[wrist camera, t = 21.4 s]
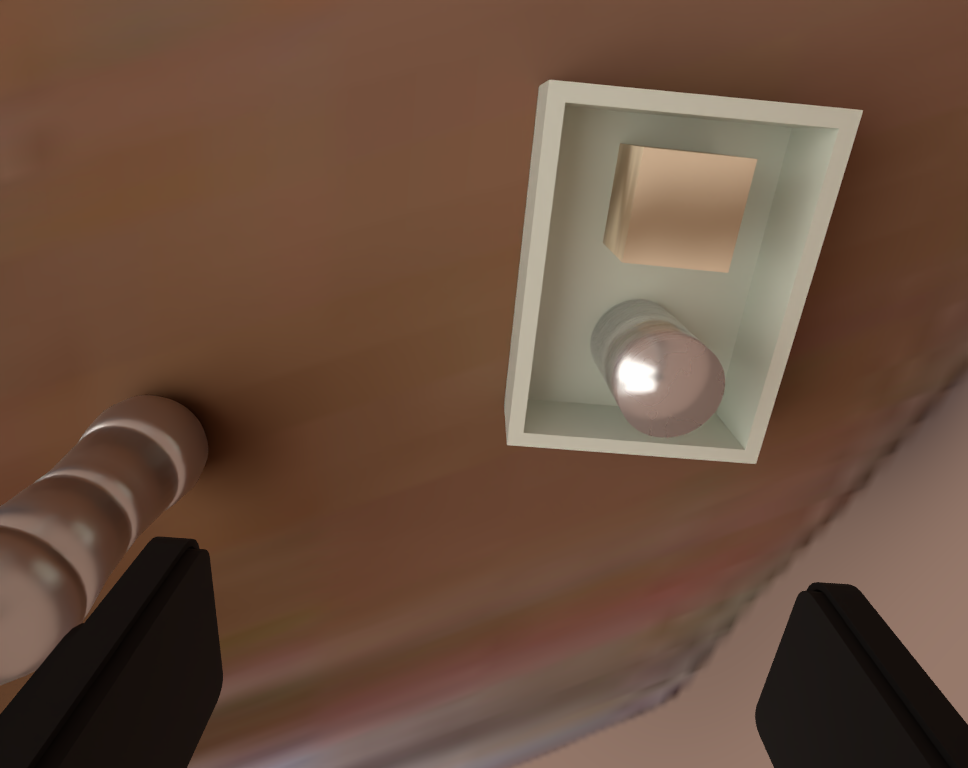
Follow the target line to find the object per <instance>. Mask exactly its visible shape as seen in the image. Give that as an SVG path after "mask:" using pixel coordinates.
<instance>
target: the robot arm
mask: <svg viewBox="0 0 968 768" xmlns="http://www.w3.org/2000/svg"><path fill="white" fill-rule="evenodd" d="M222 682H223V670H222V662H221V653H220V644H219V635H218V626H217V617H216V609H215V600H214V591H213V582H212V573H211V564H210V557H209V553H208V551H207V550H205V549H199V545H198V543H197V541H196V540H194V539H186V538H172V537H155V538H153V539H152V540H151V541H150V542H149V543H148V544H147V545H146V546H145V548H144V549H143V550H142V551H141V553H140V554H139V555H138V556H137V558H136V559H135V560H134V561H133V563H132V564H131V565H130V566H129V568H128V569H127V570H126V572H125V573H124V574H123V575H122V577H121V578H120V579H119V580H118V582H117V583H116V584H115V585H114V587H113V588H112V589H111V590H110V592H109V593H108V594H107V595H106V597H105V598H104V599H103V600H102V602H101V603H100V604H99V605H98V607H97V608H96V609H95V610H94V612H93V613H92V614H91V615H90V617H89V618H88V619H87V620H86V622H85V623H81V624H79V625H77V626H75V627H74V628H72V629H71V630H70V631H69V632H68V633H67V634H66V635H65V636H64V637H63V638H62V640H61V641H60V642H59V643H58V644H57V646H56V647H55V648H54V649H53V651H52V652H51V653H50V654H49V655H48V657H47V658H46V659H45V660H44V662H43V663H42V664H41V665H40V667H39V668H38V669H37V670H36V671H35V673H34V674H33V675H32V676H31V678H30V679H29V680H28V681H27V682H26V684H25V685H24V686H23V687H22V689H21V690H20V691H19V692H18V693H17V695H16V696H15V697H14V698H13V700H12V701H11V702H10V703H9V705H8V706H7V707H6V708H5V709H4V711H3V712H2V713H1V714H0V768H187V766H188V764H189V762H190V760H191V757H192V755H193V753H194V751H195V749H196V747H197V744H198V742H199V740H200V738H201V736H202V733H203V731H204V729H205V727H206V725H207V723H208V720H209V718H210V716H211V714H212V712H213V710H214V707H215V705H216V703H217V701H218V698H219V695H220V692H221V688H222ZM755 719H756V725H757V730H758V732H759V735H760V737H761V739H762V742H763V744H764V746H765V748H766V750H767V753H768V755H769V757H770V759H771V762H772V764H773V766H774V768H968V725H967V723H966V722H965V721H964V720H963V718H962V717H961V716H960V715H959V714H958V712H957V711H956V710H955V709H954V707H953V706H952V705H951V703H950V702H949V701H948V700H947V698H946V697H945V696H944V695H943V694H942V692H941V691H940V690H939V688H938V687H937V686H936V685H935V683H934V682H933V681H932V680H931V679H930V677H929V676H928V675H927V674H926V672H925V671H924V670H923V669H922V667H921V666H920V665H919V664H918V662H917V661H916V660H915V659H914V657H913V656H912V655H911V654H910V652H909V651H908V650H907V649H906V647H905V646H904V645H903V644H902V642H901V641H900V640H899V639H898V637H897V636H896V635H895V634H894V632H893V631H892V630H891V629H890V627H889V626H888V625H887V624H886V622H885V621H884V620H883V619H882V617H881V616H880V615H879V614H878V612H877V611H876V610H875V609H874V608H873V606H872V605H871V604H870V603H869V601H868V600H867V599H866V598H865V596H864V595H863V594H862V593H861V591H860V590H858V589H857V588H856V587H855V586H852V585H849V584H835V583H834V584H833V583H819V582H817V583H812V584H811V585H810V586H809V587H808V589H807V591H802V592H800V593H799V595H798V597H797V599H796V601H795V604H794V607H793V610H792V612H791V615H790V618H789V620H788V623H787V626H786V628H785V631H784V634H783V636H782V639H781V642H780V644H779V647H778V650H777V653H776V655H775V658H774V661H773V663H772V666H771V669H770V672H769V674H768V677H767V679H766V683H765V685H764V688H763V690H762V693H761V696H760V698H759V701H758V704H757V707H756V712H755Z"/></svg>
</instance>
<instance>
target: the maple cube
mask: <svg viewBox="0 0 968 768" xmlns="http://www.w3.org/2000/svg"><path fill="white" fill-rule="evenodd" d="M756 163H757V159H753V158H746V157H738V156H731V155H724V154H716V153H706V152H697V151H687V150H678V149H668V148H659V147H649V146H640V145H630V144H621V143H620V146H619V152H618V158H617V164H616V169H615V175H614V181H613V187H612V193H611V198H610V204H609V210H608V216H607V222H606V227H605V233H604V239H603V244H604V245H605V246H606V247H607V248H608V249H609V250H610V251H611V252H612V253H613V254H614V255H615V256H616V257H617V258H618V259H619V260H620V261H621V262H622V263H632V264H642V265H652V266H663V267H673V268H683V269H693V270H704V271H714V272H724V273H728V272H729V268H730V264H731V260H732V256H733V252H734V249H735V245H736V241H737V237H738V233H739V229H740V225H741V221H742V218H743V214H744V210H745V206H746V202H747V198H748V194H749V190H750V186H751V183H752V179H753V175H754V171H755V167H756Z"/></svg>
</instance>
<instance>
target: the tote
mask: <svg viewBox="0 0 968 768" xmlns="http://www.w3.org/2000/svg"><path fill="white" fill-rule="evenodd" d="M862 113H863V110H856V109H846V108H835V107H825V106H815V105H804V104H794V103H784V102H773V101H763V100H753V99H743V98H732V97H722V96H712V95H701V94H691V93H681V92H670V91H660V90H650V89H639V88H629V87H619V86H608V85H598V84H588V83H577V82H567V81H557V80H548V81H546V82H545V83H543V84H542V85H540V86H539V93H538V102H537V111H536V120H535V129H534V138H533V147H532V156H531V166H530V175H529V184H528V193H527V202H526V211H525V220H524V229H523V238H522V247H521V256H520V265H519V275H518V284H517V293H516V302H515V311H514V320H513V329H512V338H511V347H510V356H509V365H508V375H507V384H506V393H505V402H504V410H505V424H506V438H507V445H514V446H527V447H540V448H553V449H567V450H580V451H593V452H606V453H619V454H632V455H646V456H659V457H672V458H685V459H698V460H711V461H725V462H738V463H751V464H756V462H757V459H758V456H759V452H760V449H761V446H762V442H763V439H764V436H765V433H766V429H767V426H768V423H769V419H770V416H771V413H772V409H773V406H774V403H775V400H776V396H777V393H778V390H779V386H780V383H781V380H782V376H783V373H784V370H785V367H786V363H787V360H788V357H789V353H790V350H791V347H792V344H793V340H794V337H795V334H796V330H797V327H798V324H799V320H800V317H801V314H802V311H803V307H804V304H805V301H806V297H807V294H808V291H809V287H810V284H811V281H812V278H813V274H814V271H815V268H816V264H817V261H818V258H819V254H820V251H821V248H822V245H823V241H824V238H825V235H826V231H827V228H828V225H829V222H830V218H831V215H832V212H833V208H834V205H835V202H836V198H837V195H838V192H839V189H840V185H841V182H842V179H843V175H844V172H845V169H846V165H847V162H848V159H849V156H850V152H851V149H852V146H853V142H854V139H855V136H856V133H857V129H858V126H859V123H860V119H861V116H862ZM620 143H621V144H630V145H640V146H649V147H659V148H668V149H678V150H687V151H697V152H706V153H716V154H724V155H731V156H738V157H746V158H753V159H757V163H756V167H755V171H754V175H753V179H752V183H751V186H750V190H749V194H748V198H747V202H746V206H745V210H744V214H743V218H742V221H741V225H740V229H739V233H738V237H737V241H736V245H735V249H734V252H733V256H732V260H731V264H730V268H729V272H728V273H724V272H714V271H704V270H693V269H683V268H673V267H663V266H652V265H642V264H632V263H622V262H621V261H620V260H619V259H618V258H617V257H616V256H615V255H614V254H613V253H612V252H611V251H610V250H609V249H608V248H607V247H606V246H605V245H604V244H603V239H604V233H605V227H606V222H607V216H608V210H609V204H610V198H611V193H612V187H613V181H614V175H615V169H616V164H617V158H618V152H619V146H620ZM633 299H643V300H649V301H652V302H655V303H657V304H659V305H661V306H662V307H663V308H665V309H666V310H667V311H668V312H669V313H670V314H671V315H672V316H673V317H675V318H676V319H677V320H678V321H679V322H680V323H681V324H682V325H683V326H684V327H686V328H687V329H688V330H689V331H690V332H691V333H692V334H693V335H694V336H695V337H697V338H698V339H699V340H700V341H701V342H702V343H703V344H704V345H705V346H706V347H707V348H709V349H710V350H711V351H712V352H713V353H714V354H715V355H716V357H717V358H718V359H719V361H720V363H721V365H722V367H723V370H724V375H725V390H724V394H723V398H722V400H721V403H720V405H719V406H718V408H717V410H716V411H715V413H714V414H713V415H712V416H711V417H710V418H709V419H708V420H707V421H706V422H705V423H704V424H703V425H701V426H700V427H698V428H697V429H695V430H693V431H691V432H689V433H687V434H684V435H681V436H677V437H670V438H661V437H654V436H649V435H647V434H644V433H642V432H640V431H638V430H637V429H635V428H634V427H633V426H632V425H631V424H630V423H629V422H628V421H627V420H626V419H625V417H624V415H623V413H622V412H621V410H620V408H619V406H618V404H617V402H616V401H615V399H614V397H613V395H612V393H611V391H610V390H609V388H608V386H607V384H606V382H605V380H604V379H603V377H602V375H601V373H600V371H599V369H598V368H597V366H596V364H595V362H594V360H593V358H592V354H591V349H590V341H591V335H592V332H593V329H594V327H595V325H596V323H597V322H598V320H599V319H600V317H601V316H602V315H603V314H604V313H605V312H606V311H607V310H609V309H610V308H611V307H613V306H615V305H617V304H619V303H621V302H624V301H628V300H633Z"/></svg>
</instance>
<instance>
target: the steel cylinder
mask: <svg viewBox="0 0 968 768" xmlns="http://www.w3.org/2000/svg"><path fill="white" fill-rule="evenodd" d="M590 349H591V354H592V358H593V360H594V362H595V364H596V366H597V368H598V369H599V371H600V373H601V375H602V377H603V379H604V380H605V382H606V384H607V386H608V388H609V390H610V391H611V393H612V395H613V397H614V399H615V401H616V402H617V404H618V406H619V408H620V410H621V412H622V413H623V415H624V417H625V419H626V420H627V421H628V422H629V423H630V424H631V425H632V426H633V427H634V428H635V429H637V430H638V431H640V432H642V433H644V434H647V435H649V436H654V437H661V438H670V437H677V436H681V435H684V434H687V433H689V432H691V431H693V430H695V429H697V428H698V427H700V426H701V425H703V424H704V423H705V422H706V421H707V420H708V419H709V418H710V417H711V416H712V415H713V414H714V413H715V411H716V410H717V408H718V406H719V405H720V403H721V400H722V398H723V394H724V390H725V375H724V370H723V367H722V365H721V363H720V361H719V359H718V358H717V357H716V355H715V354H714V353H713V352H712V351H711V350H710V349H709V348H707V347H706V346H705V345H704V344H703V343H702V342H701V341H700V340H699V339H698V338H697V337H695V336H694V335H693V334H692V333H691V332H690V331H689V330H688V329H687V328H686V327H684V326H683V325H682V324H681V323H680V322H679V321H678V320H677V319H676V318H675V317H673V316H672V315H671V314H670V313H669V312H668V311H667V310H666V309H665V308H663V307H662V306H661V305H659V304H657V303H655V302H652V301H649V300H643V299H633V300H628V301H624V302H621V303H619V304H617V305H615V306H613V307H611V308H610V309H609V310H607V311H606V312H605V313H604V314H603V315H602V316H601V317H600V319H599V320H598V322H597V323H596V325H595V327H594V329H593V332H592V335H591V341H590Z"/></svg>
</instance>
